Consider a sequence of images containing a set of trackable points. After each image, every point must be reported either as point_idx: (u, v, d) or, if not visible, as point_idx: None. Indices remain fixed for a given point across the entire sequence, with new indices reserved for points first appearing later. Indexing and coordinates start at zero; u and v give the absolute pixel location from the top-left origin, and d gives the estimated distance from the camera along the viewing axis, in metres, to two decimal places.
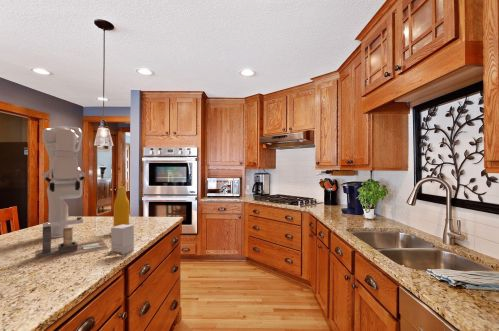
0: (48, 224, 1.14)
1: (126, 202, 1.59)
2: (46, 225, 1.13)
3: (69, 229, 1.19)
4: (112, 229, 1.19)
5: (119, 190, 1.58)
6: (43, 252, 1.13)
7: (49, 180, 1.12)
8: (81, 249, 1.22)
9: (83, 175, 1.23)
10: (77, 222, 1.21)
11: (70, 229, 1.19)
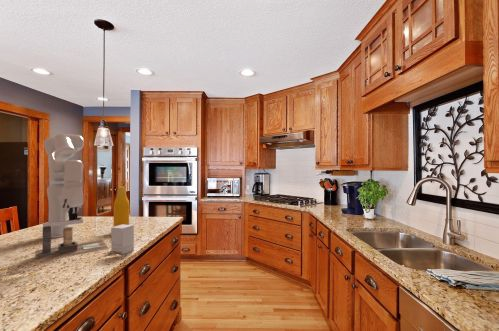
0: (48, 224, 1.14)
1: (126, 202, 1.59)
2: (46, 225, 1.13)
3: (69, 229, 1.19)
4: (112, 229, 1.19)
5: (119, 190, 1.58)
6: (43, 252, 1.13)
7: (72, 212, 1.21)
8: (81, 249, 1.22)
9: (79, 206, 1.27)
10: (77, 222, 1.21)
11: (70, 229, 1.19)
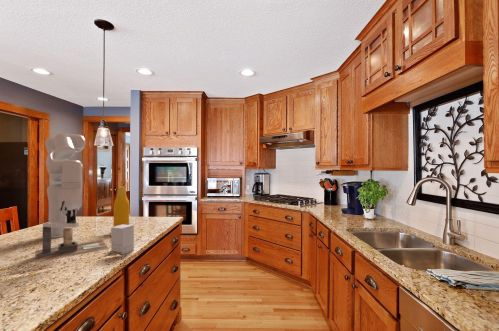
0: (45, 224, 1.13)
1: (126, 202, 1.59)
2: (43, 225, 1.13)
3: (69, 229, 1.19)
4: (112, 229, 1.19)
5: (119, 190, 1.58)
6: (43, 252, 1.13)
7: (70, 215, 1.15)
8: (81, 249, 1.22)
9: (77, 209, 1.21)
10: (70, 226, 1.14)
11: (70, 229, 1.19)
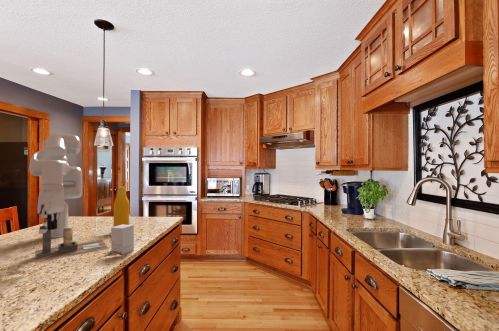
0: None
1: (126, 202, 1.59)
2: None
3: (69, 229, 1.19)
4: (112, 229, 1.19)
5: (119, 190, 1.58)
6: (43, 252, 1.13)
7: (50, 220, 1.07)
8: (81, 249, 1.22)
9: (59, 212, 1.12)
10: None
11: (70, 229, 1.19)
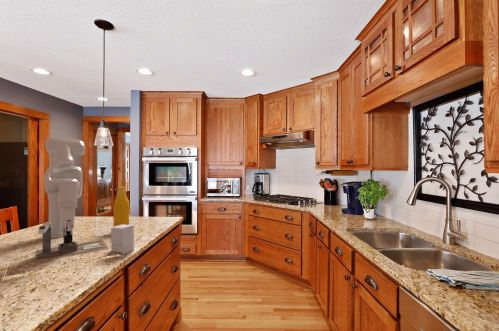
0: None
1: (126, 202, 1.59)
2: None
3: None
4: (112, 229, 1.19)
5: (119, 190, 1.58)
6: (43, 252, 1.13)
7: (70, 233, 1.18)
8: (81, 249, 1.22)
9: None
10: None
11: None
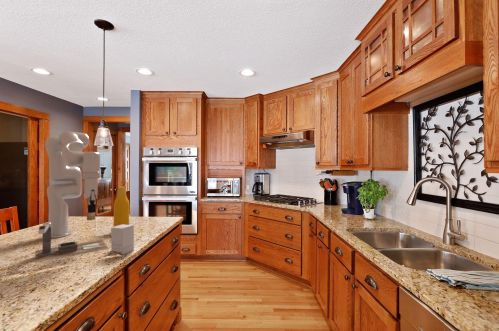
0: None
1: (126, 202, 1.59)
2: None
3: None
4: (112, 229, 1.19)
5: (119, 190, 1.58)
6: (43, 252, 1.13)
7: (94, 203, 1.23)
8: (81, 249, 1.22)
9: None
10: None
11: None
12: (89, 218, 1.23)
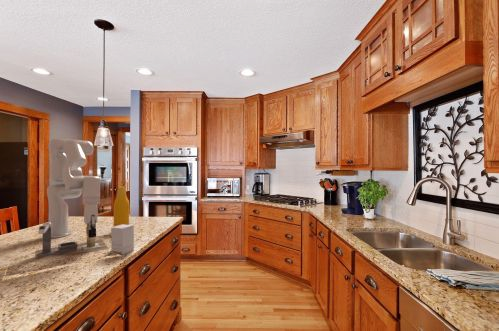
0: None
1: (126, 202, 1.59)
2: None
3: None
4: (112, 229, 1.19)
5: (119, 190, 1.58)
6: (43, 252, 1.13)
7: (94, 227, 1.22)
8: (81, 249, 1.22)
9: None
10: None
11: None
12: (89, 245, 1.23)
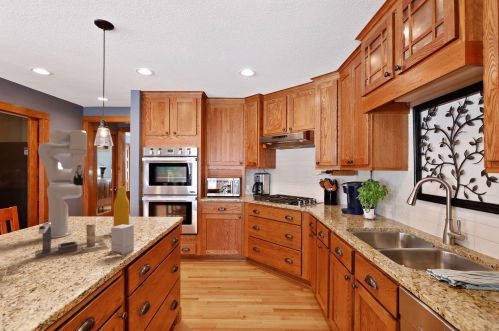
0: None
1: (126, 202, 1.59)
2: None
3: (92, 225, 1.24)
4: (112, 229, 1.19)
5: (119, 190, 1.58)
6: (43, 252, 1.13)
7: None
8: (81, 249, 1.22)
9: None
10: None
11: (93, 225, 1.25)
12: (89, 245, 1.23)
